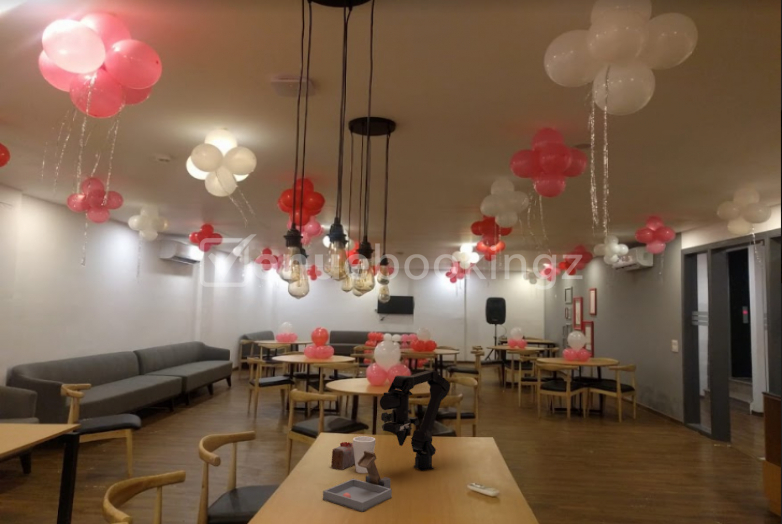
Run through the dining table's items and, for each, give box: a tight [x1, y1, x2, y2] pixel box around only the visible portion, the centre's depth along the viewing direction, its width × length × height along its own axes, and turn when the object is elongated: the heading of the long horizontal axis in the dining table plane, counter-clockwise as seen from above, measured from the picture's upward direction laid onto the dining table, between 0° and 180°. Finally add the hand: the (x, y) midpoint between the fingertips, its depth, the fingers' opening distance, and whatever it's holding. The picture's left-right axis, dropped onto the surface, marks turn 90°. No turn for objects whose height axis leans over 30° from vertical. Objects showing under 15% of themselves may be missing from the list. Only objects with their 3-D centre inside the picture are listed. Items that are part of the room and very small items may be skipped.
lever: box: [358, 451, 382, 485], centre depth 198 cm, size 5×5×15 cm
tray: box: [322, 478, 393, 513], centre depth 191 cm, size 17×18×3 cm
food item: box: [330, 441, 355, 471], centre depth 230 cm, size 14×8×10 cm, turn 154°
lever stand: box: [365, 474, 392, 489], centre depth 201 cm, size 4×9×4 cm, turn 55°
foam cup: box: [352, 435, 376, 474], centre depth 223 cm, size 10×9×13 cm
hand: (401, 445), depth 218 cm, fingers closed
